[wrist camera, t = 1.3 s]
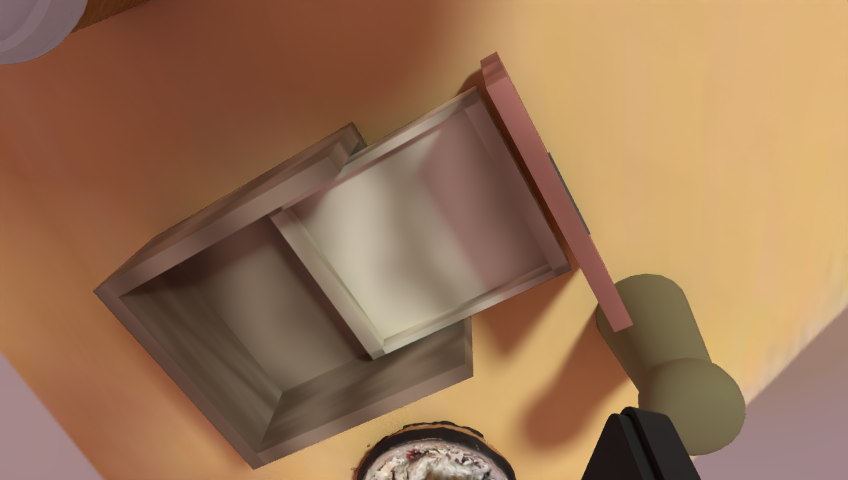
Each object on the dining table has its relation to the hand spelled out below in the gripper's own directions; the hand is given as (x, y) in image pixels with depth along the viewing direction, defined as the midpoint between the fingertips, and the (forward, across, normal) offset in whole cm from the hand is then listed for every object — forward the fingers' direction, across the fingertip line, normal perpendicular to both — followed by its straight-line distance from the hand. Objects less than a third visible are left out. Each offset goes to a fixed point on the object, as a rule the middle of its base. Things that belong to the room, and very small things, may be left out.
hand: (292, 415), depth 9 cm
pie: (+30, -8, +29) cm, 42 cm away
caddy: (+28, +4, +13) cm, 31 cm away
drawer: (+27, -3, +7) cm, 28 cm away
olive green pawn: (+28, -18, +10) cm, 35 cm away
